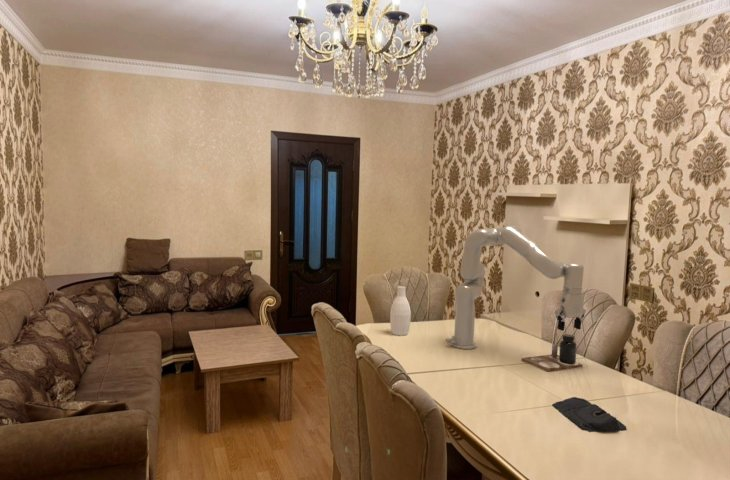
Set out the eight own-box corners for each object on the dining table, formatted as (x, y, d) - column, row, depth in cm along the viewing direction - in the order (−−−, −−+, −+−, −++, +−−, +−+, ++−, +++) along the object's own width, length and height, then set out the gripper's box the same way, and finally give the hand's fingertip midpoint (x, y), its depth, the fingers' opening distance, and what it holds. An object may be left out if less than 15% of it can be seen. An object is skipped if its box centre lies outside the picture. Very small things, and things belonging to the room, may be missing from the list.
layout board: (548, 371, 204) (549, 355, 204) (521, 360, 219) (522, 344, 218) (582, 367, 212) (583, 351, 212) (554, 356, 227) (555, 341, 227)
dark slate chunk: (588, 404, 172) (589, 391, 171) (630, 433, 150) (631, 418, 149) (548, 405, 169) (549, 392, 169) (585, 434, 148) (586, 419, 147)
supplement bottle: (572, 359, 217) (573, 333, 217) (577, 364, 211) (579, 337, 210) (556, 359, 218) (558, 333, 217) (561, 364, 211) (563, 337, 210)
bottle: (408, 337, 252) (410, 289, 251) (387, 335, 255) (389, 287, 253) (411, 332, 263) (413, 286, 262) (391, 330, 266) (392, 284, 264)
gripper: (564, 293, 205) (560, 332, 207) (593, 292, 212) (590, 330, 214) (551, 290, 212) (547, 328, 213) (579, 289, 219) (576, 326, 220)
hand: (569, 329), depth 213 cm, fingers open, 9 cm apart
